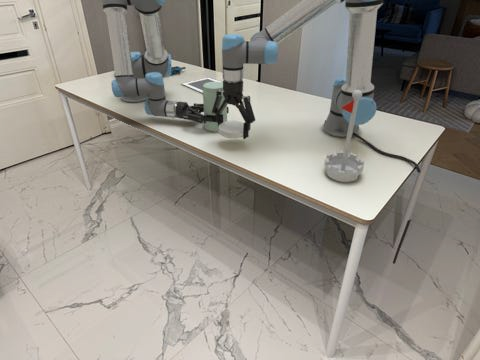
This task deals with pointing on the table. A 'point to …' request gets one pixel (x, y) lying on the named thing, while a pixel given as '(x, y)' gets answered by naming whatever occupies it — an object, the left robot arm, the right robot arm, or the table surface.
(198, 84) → the tablet
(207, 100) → the jar
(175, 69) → the submachine gun
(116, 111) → the table surface
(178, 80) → the table surface
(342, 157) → the flag stand
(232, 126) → the lid
